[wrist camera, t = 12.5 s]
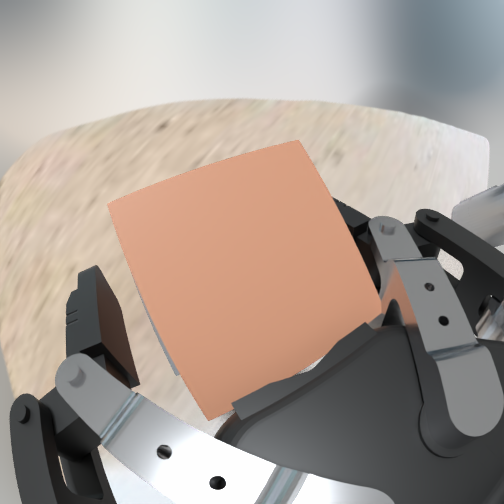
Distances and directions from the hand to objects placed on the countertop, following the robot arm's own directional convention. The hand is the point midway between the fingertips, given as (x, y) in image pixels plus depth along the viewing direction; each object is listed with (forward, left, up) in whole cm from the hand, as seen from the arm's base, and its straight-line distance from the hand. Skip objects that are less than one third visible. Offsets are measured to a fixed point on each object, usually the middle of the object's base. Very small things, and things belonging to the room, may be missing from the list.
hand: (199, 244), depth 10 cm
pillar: (+1, +2, -7) cm, 7 cm away
